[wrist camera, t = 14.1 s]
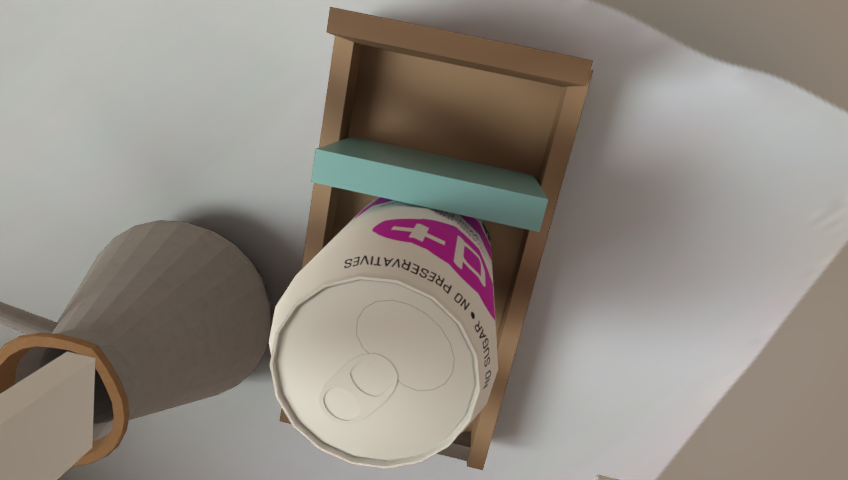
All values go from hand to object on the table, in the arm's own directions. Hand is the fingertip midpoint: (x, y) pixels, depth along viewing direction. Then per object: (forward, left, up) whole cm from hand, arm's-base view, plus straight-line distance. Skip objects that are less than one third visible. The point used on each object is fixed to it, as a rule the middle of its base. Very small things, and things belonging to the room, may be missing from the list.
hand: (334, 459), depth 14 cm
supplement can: (0, 0, -19) cm, 19 cm away
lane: (0, 0, -20) cm, 20 cm away
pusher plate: (0, +5, -19) cm, 19 cm away
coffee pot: (-18, -4, -20) cm, 27 cm away
